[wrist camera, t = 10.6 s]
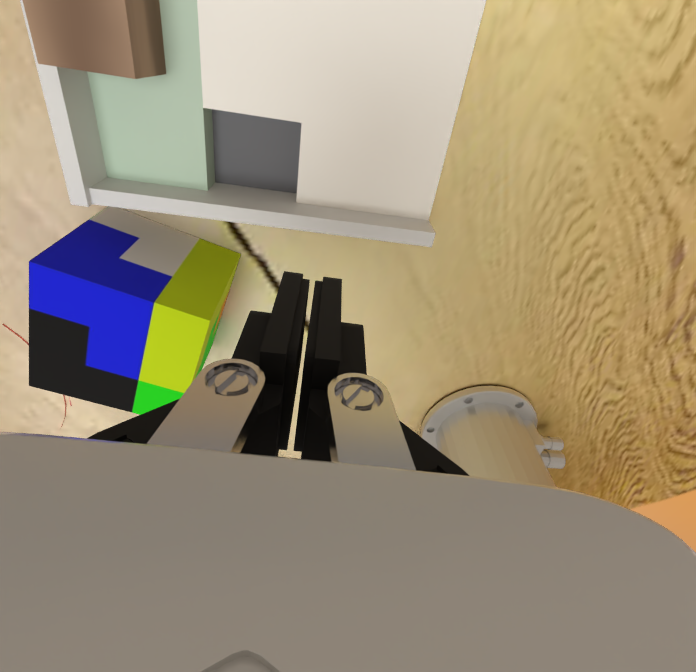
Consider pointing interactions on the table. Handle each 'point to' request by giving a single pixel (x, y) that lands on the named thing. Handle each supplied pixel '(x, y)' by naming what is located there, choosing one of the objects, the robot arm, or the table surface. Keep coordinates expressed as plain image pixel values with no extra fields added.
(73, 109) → the tray
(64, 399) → the figurine
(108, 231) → the puzzle toy
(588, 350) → the table surface
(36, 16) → the walnut block
